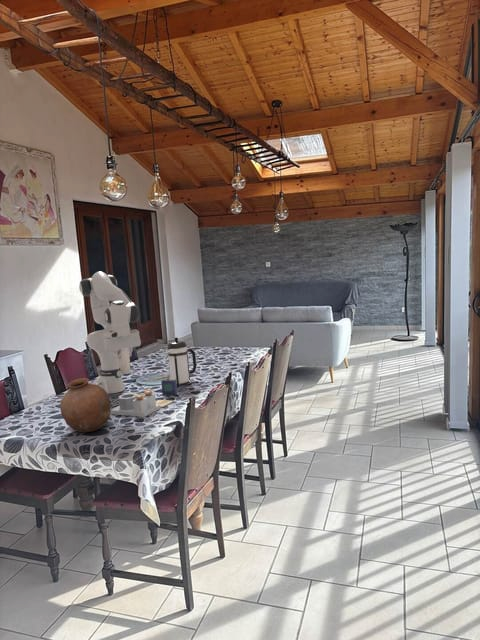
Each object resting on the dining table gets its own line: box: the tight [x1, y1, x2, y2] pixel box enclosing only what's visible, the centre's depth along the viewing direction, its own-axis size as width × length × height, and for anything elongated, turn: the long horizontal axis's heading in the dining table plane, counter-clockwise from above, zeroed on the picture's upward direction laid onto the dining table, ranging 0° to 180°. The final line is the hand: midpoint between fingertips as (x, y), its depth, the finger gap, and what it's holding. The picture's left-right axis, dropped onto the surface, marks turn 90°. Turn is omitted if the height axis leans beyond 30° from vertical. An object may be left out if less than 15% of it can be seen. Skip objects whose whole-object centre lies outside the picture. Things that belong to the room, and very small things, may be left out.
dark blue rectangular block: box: [160, 376, 178, 396], centre depth 278 cm, size 9×3×11 cm, turn 78°
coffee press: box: [165, 337, 197, 388], centre depth 300 cm, size 17×16×30 cm
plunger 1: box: [135, 394, 145, 401], centre depth 246 cm, size 4×4×7 cm
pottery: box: [59, 377, 112, 433], centre depth 228 cm, size 23×23×25 cm
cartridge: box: [118, 347, 131, 375], centre depth 251 cm, size 5×5×15 cm
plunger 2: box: [143, 389, 153, 396], centre depth 253 cm, size 4×4×7 cm
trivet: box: [156, 399, 174, 409], centre depth 262 cm, size 10×10×1 cm
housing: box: [110, 392, 161, 418], centre depth 253 cm, size 22×14×8 cm, turn 65°
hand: (124, 357), depth 251 cm, fingers closed on cartridge, 5 cm apart
